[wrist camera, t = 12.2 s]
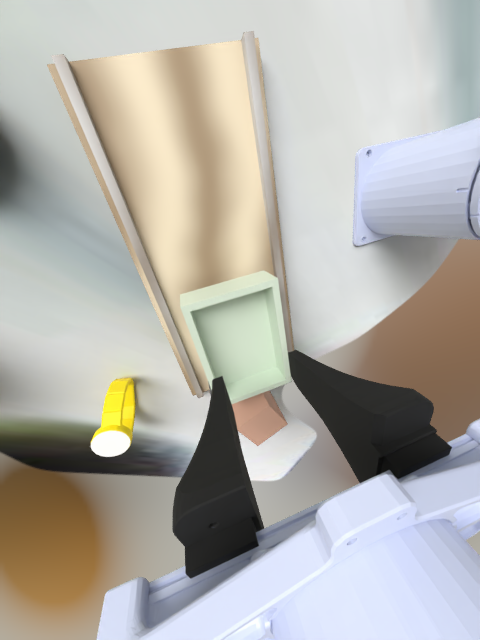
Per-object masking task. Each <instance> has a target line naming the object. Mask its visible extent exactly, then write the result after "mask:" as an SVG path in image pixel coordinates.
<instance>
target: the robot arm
mask: <svg viewBox="0 0 480 640" xmlns="http://www.w3.org/2000/svg"><path fill="white" fill-rule="evenodd" d="M367 152H368V157H367V155H366V153H367ZM395 235H405V236H422V237H439V238H455V239H473V240H480V117H479V118H476V119H473V120H470V121H468V122H465V123H462V124H459V125H456V126H453V127H450V128H447V129H444V130H441V131H437V132H432V133H428V134H423V135H418V136H414V137H409V138H405V139H400V140H396V141H391V142H386V143H382V144H377V145H373V146H368V147H364V148H361V149H359V150H358V151H357V153H356V163H355V193H354V223H353V244H354V245H355V246H361V245H364V244H367V243H371V242H374V241H378V240H381V239H385V238H388V237H391V236H395ZM362 238H364V239H363V241H362ZM288 359H289V366H290V374H291V377H292V378H293V380H294V382H295V384H296V385H297V387H298V389H299V390H300V391H301V392H302V394H303V395H304V396H305V398H306V399H307V400H308V402H309V403H310V404H311V405H312V407H313V408H314V409H315V411H316V412H317V413H318V414H319V416H320V417H321V419H322V420H323V421H324V423H325V425H326V426H327V428H328V429H329V431H330V432H331V434H332V436H333V437H334V439H335V440H336V442H337V444H338V446H339V447H340V449H341V451H342V452H343V454H344V456H345V458H346V459H347V461H348V463H349V464H350V466H351V468H352V470H353V471H354V473H355V475H356V477H357V479H358V481H359V482H360V484H357V485H355V486H353V487H351V488H349V489H347V490H345V491H343V492H340V493H338V494H336V495H334V496H332V497H330V498H328V499H326V500H324V501H322V502H320V503H318V504H316V505H314V506H311V507H309V508H307V509H305V510H303V511H301V512H298V513H297V514H295V515H292V516H290V517H288V518H286V519H284V520H281V521H279V522H277V523H275V524H273V525H271V526H269V527H267V528H264V526H263V522H262V520H261V516H260V512H259V509H258V505H257V502H256V498H255V495H254V492H253V488H252V485H251V481H250V478H249V474H248V471H247V468H246V464H245V461H244V457H243V454H242V449H241V445H240V440H239V435H238V430H237V425H236V420H235V415H234V411H233V407H232V404H231V401H230V398H229V395H228V392H227V389H226V386H225V383H224V379H223V376H220V377H218V378H215V379H213V380H212V394H211V400H210V406H209V411H208V415H207V419H206V423H205V426H204V429H203V433H202V435H201V438H200V441H199V443H198V446H197V448H196V451H195V453H194V455H193V457H192V459H191V461H190V464H189V466H188V468H187V470H186V472H185V473H184V475H183V477H182V479H181V481H180V483H179V484H178V486H177V488H176V492H175V498H174V506H173V533H174V535H175V536H176V537H177V538H178V539H179V541H180V542H181V543H182V544H183V545H184V546H185V566H184V567H181V568H179V569H177V570H175V571H173V572H171V573H169V574H167V575H164V576H162V577H160V578H158V579H156V580H154V581H152V582H148V580H147V579H146V578H144V577H139V578H135V579H132V580H130V581H128V582H126V583H124V584H121V585H119V586H117V587H115V588H113V589H111V590H109V591H107V593H106V594H105V599H104V604H103V609H102V614H101V619H100V624H99V630H98V634H97V640H480V556H479V555H478V553H477V552H476V551H475V550H474V549H473V548H472V547H471V546H470V545H469V544H468V543H467V541H466V540H467V539H469V538H470V537H472V536H473V535H475V534H476V533H478V532H479V531H480V419H478V420H476V421H474V422H472V423H471V424H470V425H469V427H468V428H467V431H466V434H465V435H463V436H460V437H458V438H456V439H454V440H452V441H450V442H448V443H446V442H445V441H444V440H443V439H441V438H440V437H439V436H438V435H437V434H436V432H437V431H436V429H435V428H434V427H432V426H431V425H430V421H431V418H432V414H433V410H434V407H433V403H432V402H431V401H429V400H428V399H427V398H425V397H424V396H423V395H421V394H420V393H418V392H417V391H415V390H414V389H410V388H403V387H396V386H390V385H385V384H380V383H376V382H372V381H368V380H364V379H361V378H357V377H354V376H351V375H348V374H345V373H343V372H340V371H338V370H335V369H333V368H330V367H328V366H326V365H324V364H322V363H320V362H318V361H316V360H314V359H312V358H310V357H308V356H306V355H305V354H303V353H301V352H299V351H297V350H294V351H291V352H288Z"/></svg>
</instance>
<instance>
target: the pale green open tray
mask: <svg viewBox="0 0 480 640" xmlns="http://www.w3.org/2000/svg"><path fill="white" fill-rule="evenodd" d="M180 308H181V310H182V313H183V316H184V318H185V321H186V324H187V326H188V329H189V332H190V334H191V337H192V340H193V342H194V345H195V348H196V350H197V353H198V355H199V358H200V361H201V363H202V366H203V369H204V371H205V374H206V377H207V379H208V382H209V385H210V387H211V390H212V380H213V379H215V378H218V377H220V376H223V379H224V383H225V386H226V389H227V392H228V395H229V398H230V401H231V404H234V403H237V402H239V401H242V400H245V399H247V398H250V397H253V396H255V395H258V394H261V393H263V392H266V391H269V390H271V389H274V388H277V387H279V386H282V385H285V384H287V383H290V382H291V374H290V366H289V359H288V351H287V343H286V335H285V328H284V320H283V313H282V305H281V298H280V290H279V283H278V278H277V277H275V276H273V275H271V274H270V273H268V272H266V271H264V270H263V271H260V272H256V273H253V274H249V275H246V276H242V277H239V278H235V279H232V280H228V281H225V282H221V283H218V284H215V285H211V286H208V287H204V288H201V289H197V290H194V291H190V292H187V293H183V294H180Z"/></svg>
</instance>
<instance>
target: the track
mask: <svg viewBox="0 0 480 640" xmlns="http://www.w3.org/2000/svg"><path fill="white" fill-rule="evenodd" d="M51 57H52V59H53V61H54V64H48V65H47V66H48V68H49V71H50V73H51V75H52V77H53V80H54V82H55V84H56V86H57V89H58V91H59V93H60V95H61V98H62V100H63V102H64V105H65V107H66V109H67V111H68V114H69V116H70V118H71V120H72V123H73V125H74V127H75V129H76V132H77V134H78V136H79V139H80V141H81V143H82V145H83V148H84V150H85V152H86V154H87V157H88V159H89V161H90V163H91V166H92V168H93V170H94V173H95V175H96V177H97V179H98V182H99V184H100V186H101V188H102V191H103V193H104V195H105V197H106V200H107V202H108V204H109V207H110V209H111V211H112V213H113V216H114V218H115V220H116V222H117V225H118V227H119V229H120V231H121V234H122V236H123V238H124V240H125V243H126V245H127V247H128V250H129V252H130V254H131V256H132V259H133V261H134V263H135V265H136V268H137V270H138V272H139V274H140V277H141V279H142V281H143V284H144V286H145V288H146V290H147V293H148V295H149V297H150V299H151V302H152V304H153V306H154V308H155V311H156V313H157V315H158V318H159V320H160V322H161V324H162V327H163V329H164V331H165V333H166V336H167V338H168V340H169V342H170V345H171V347H172V349H173V352H174V354H175V356H176V358H177V361H178V363H179V365H180V367H181V370H182V372H183V374H184V376H185V379H186V381H187V383H188V386H189V388H190V390H191V392H192V395H193V396H194V395H197V397H198V398H200V397H203V396H204V395H203V392H205V391H208V390H210V394H212V390H211V387H210V385H209V382H208V379H207V377H206V374H205V371H204V369H203V366H202V363H201V361H200V358H199V355H198V353H197V350H196V348H195V345H194V342H193V340H192V337H191V334H190V332H189V329H188V326H187V324H186V321H185V318H184V316H183V313H182V310H181V308H180V294H183V293H187V292H190V291H194V290H197V289H201V288H204V287H208V286H211V285H215V284H218V283H221V282H225V281H228V280H232V279H235V278H239V277H242V276H246V275H249V274H253V273H256V272H260V271H263V270H264V271H266V272H268V273H270V274H271V275H273V276H275V277H277V278H278V283H279V290H280V298H281V305H282V313H283V320H284V328H285V335H286V343H287V351H288V352H291V351H294V345H293V336H292V327H291V319H290V310H289V301H288V293H287V284H286V275H285V266H284V258H283V249H282V240H281V232H280V223H279V214H278V206H277V197H276V188H275V179H274V171H273V162H272V153H271V145H270V136H269V127H268V118H267V110H266V101H265V92H264V84H263V75H262V66H261V58H260V49H259V40H258V38H254V31H250V32H244V33H243V36H242V39H241V40H238V41H230V42H222V43H214V44H206V45H198V46H190V47H182V48H175V49H167V50H159V51H151V52H143V53H135V54H127V55H119V56H111V57H103V58H96V59H88V60H80V61H72V62H69V61H68V60H67V58H66V57H65V56H64V54H61V55H52V56H51Z"/></svg>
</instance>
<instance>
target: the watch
mask: <svg viewBox="0 0 480 640" xmlns="http://www.w3.org/2000/svg"><path fill="white" fill-rule="evenodd" d="M135 404H136V403H135V394H134V382H133V380H132V379H131V378H124V379H115V380H114V381H113V382H112V383H111V384H110V387H109V389H108V391H107V395H106V398H105V403H104V407H103V413H102V425H101V428H99V429H98V430H97V431H96V432H95V434H94V436H93V438H92V441H91V449H92V451H93V452H95V453H96V454H98V455H100V456H105V457H111V456H116V455H119V454H121V453H124V452H125V451H126V450H127V449H128V448H129V446H130V445H131V441H132V436H133V434H132V432H133V426H134V418H135Z"/></svg>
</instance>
